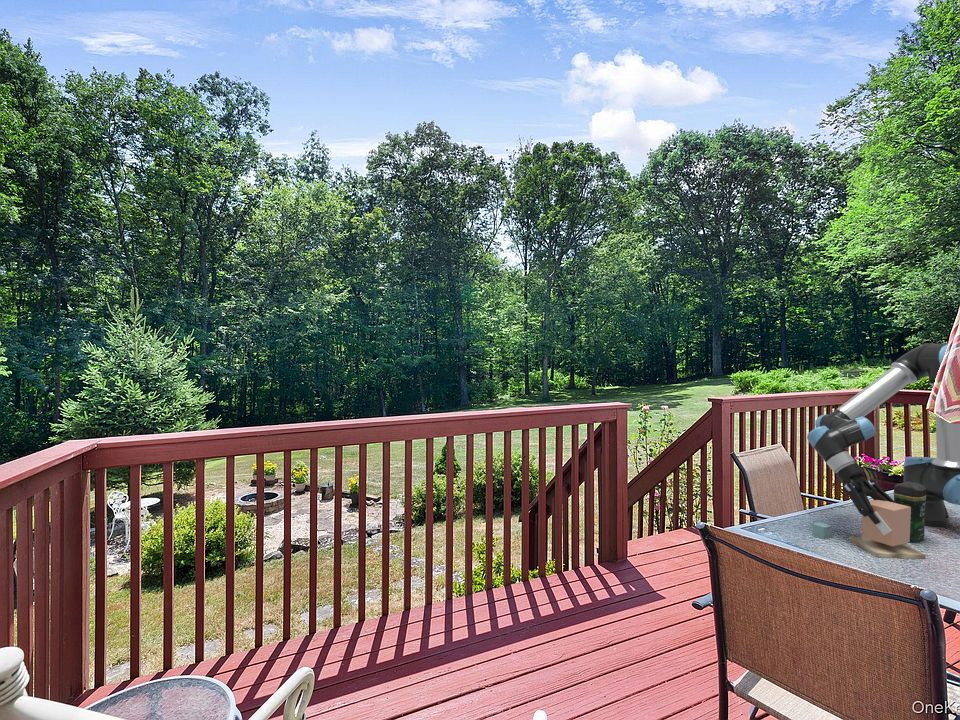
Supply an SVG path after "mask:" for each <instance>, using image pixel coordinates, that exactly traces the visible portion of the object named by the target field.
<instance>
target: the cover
mask: <svg viewBox="0 0 960 720" xmlns="http://www.w3.org/2000/svg"><path fill="white" fill-rule="evenodd" d="M869 502H870V505H871V506H872V508H873V511H874V512H877V513H878V514H879V515H880V517H881V518H882V519H883V520H884V521H885V523H886V524H887V525H888V526H889V528H890V529H891V530H892V531H891V532H889V533H887V534H886V535H883V534H882V533H881V531H880V530H879V529H878V528H877V526H876V525H875V524H874V523H873V521H872V520H871V519H870V518H869V517H868V516H866V517H864V516H863V515H862V514H861V536H860V537H864V538H867V539H871V540H874V541H877V542H880V543H883V544H886V545H890V546H896V545H900V544H907V543H910V542H911V541H910V519H911V507H909V506H905V505H901V504H897V503H893V502H889V501H883V500H874V499H872V500H869ZM874 512H873V513H874Z"/></svg>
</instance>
